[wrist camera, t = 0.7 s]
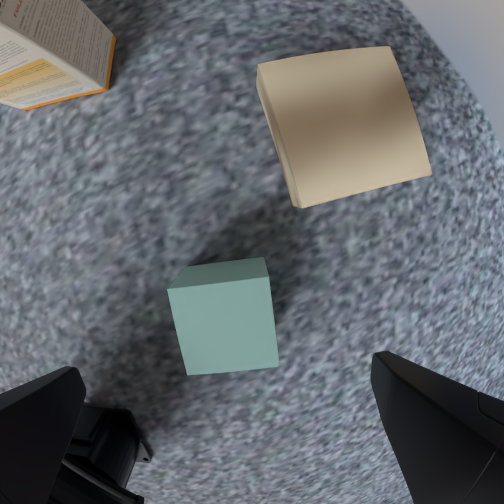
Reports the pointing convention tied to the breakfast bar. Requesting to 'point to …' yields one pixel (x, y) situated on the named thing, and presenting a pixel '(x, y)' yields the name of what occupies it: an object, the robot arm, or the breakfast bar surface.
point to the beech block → (341, 123)
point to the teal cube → (224, 317)
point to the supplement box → (52, 52)
